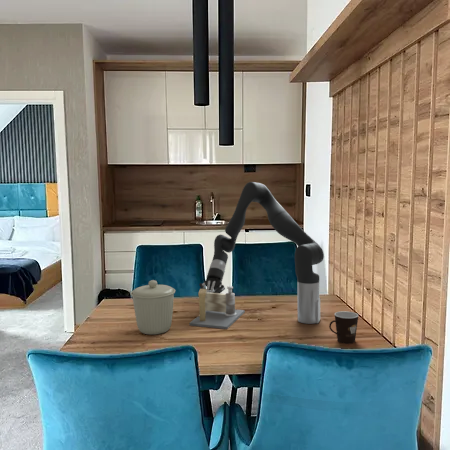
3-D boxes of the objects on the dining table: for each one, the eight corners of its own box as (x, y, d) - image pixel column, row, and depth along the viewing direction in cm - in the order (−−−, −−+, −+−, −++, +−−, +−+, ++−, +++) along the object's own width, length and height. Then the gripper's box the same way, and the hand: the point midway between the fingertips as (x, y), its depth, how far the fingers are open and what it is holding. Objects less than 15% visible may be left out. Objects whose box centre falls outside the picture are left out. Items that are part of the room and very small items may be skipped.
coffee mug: (353, 336, 173) (354, 310, 172) (361, 344, 164) (361, 317, 163) (323, 337, 173) (323, 311, 172) (329, 345, 164) (329, 318, 163)
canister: (173, 338, 175) (171, 285, 173) (127, 338, 176) (125, 286, 174) (179, 323, 193) (177, 275, 191) (137, 323, 194) (135, 275, 192)
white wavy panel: (236, 312, 201) (236, 293, 201) (233, 314, 198) (232, 295, 197) (206, 308, 207) (205, 290, 207) (202, 311, 204) (201, 292, 203)
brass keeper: (206, 323, 192) (205, 293, 191) (199, 323, 193) (198, 293, 191) (207, 317, 201) (206, 288, 199) (200, 317, 201) (199, 288, 199)
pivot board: (244, 312, 207) (244, 283, 205) (227, 329, 184) (226, 296, 183) (210, 309, 213) (209, 281, 211) (189, 325, 190) (188, 293, 189)
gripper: (201, 266, 216) (191, 297, 206) (227, 267, 211) (218, 300, 201) (206, 274, 221) (196, 305, 211) (231, 276, 217) (223, 308, 207)
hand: (207, 303), depth 206 cm, fingers closed
